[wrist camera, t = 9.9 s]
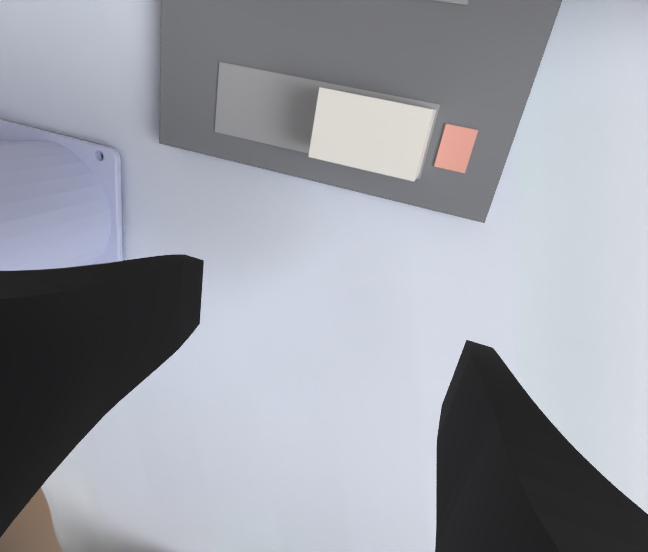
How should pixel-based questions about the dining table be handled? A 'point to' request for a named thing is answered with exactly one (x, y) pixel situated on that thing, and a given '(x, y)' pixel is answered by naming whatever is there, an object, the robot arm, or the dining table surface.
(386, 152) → the knob
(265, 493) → the dining table surface
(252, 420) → the dining table surface
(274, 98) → the switch unit
